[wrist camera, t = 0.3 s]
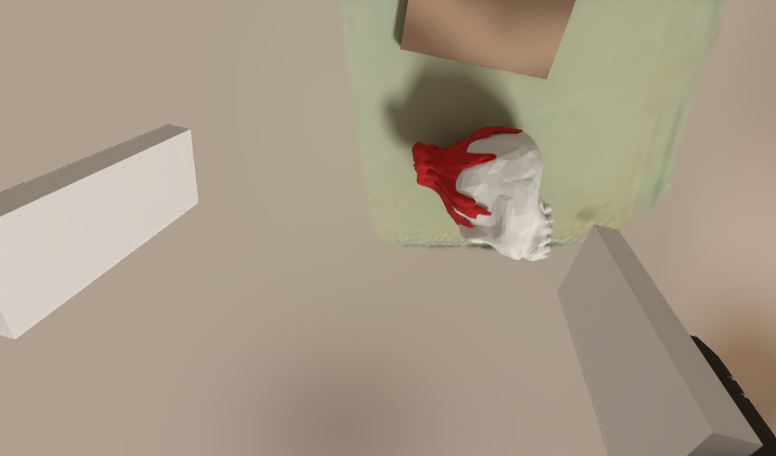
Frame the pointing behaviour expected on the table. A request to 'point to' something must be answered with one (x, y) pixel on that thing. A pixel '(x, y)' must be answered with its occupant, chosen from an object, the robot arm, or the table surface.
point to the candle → (491, 189)
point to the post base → (489, 32)
